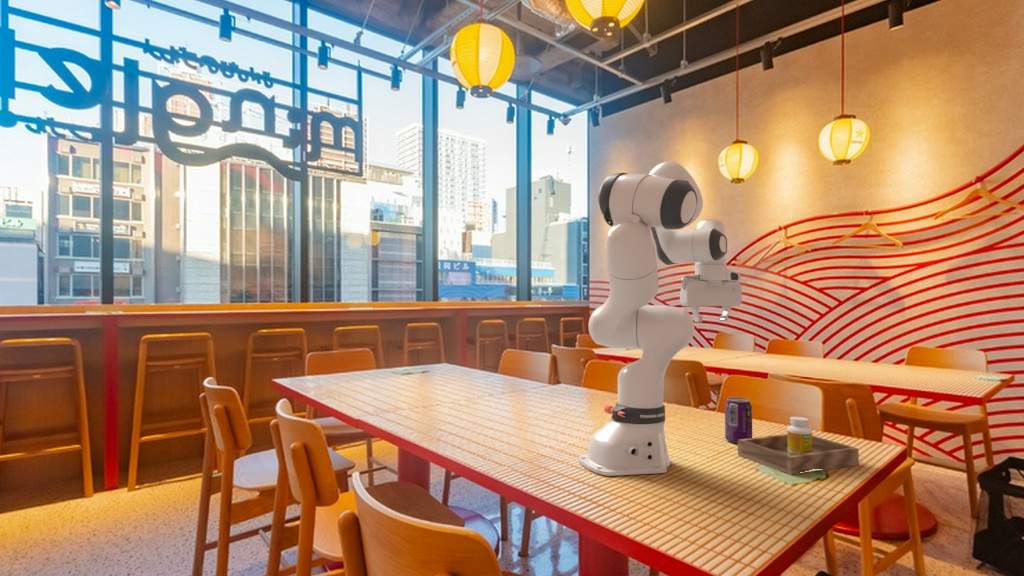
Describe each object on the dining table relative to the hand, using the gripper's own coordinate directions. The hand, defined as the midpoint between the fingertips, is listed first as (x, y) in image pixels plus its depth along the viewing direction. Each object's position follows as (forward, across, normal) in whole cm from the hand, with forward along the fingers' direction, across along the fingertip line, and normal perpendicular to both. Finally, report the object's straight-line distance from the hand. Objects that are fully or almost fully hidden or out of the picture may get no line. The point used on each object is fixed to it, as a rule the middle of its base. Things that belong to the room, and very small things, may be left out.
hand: (711, 321), depth 147 cm
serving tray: (+34, +5, -24) cm, 42 cm away
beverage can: (+34, +4, -6) cm, 35 cm away
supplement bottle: (+33, +4, -25) cm, 42 cm away
